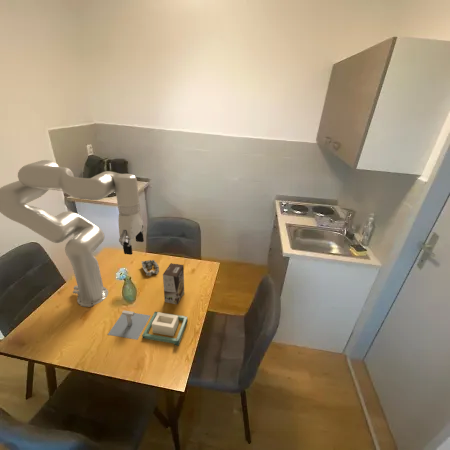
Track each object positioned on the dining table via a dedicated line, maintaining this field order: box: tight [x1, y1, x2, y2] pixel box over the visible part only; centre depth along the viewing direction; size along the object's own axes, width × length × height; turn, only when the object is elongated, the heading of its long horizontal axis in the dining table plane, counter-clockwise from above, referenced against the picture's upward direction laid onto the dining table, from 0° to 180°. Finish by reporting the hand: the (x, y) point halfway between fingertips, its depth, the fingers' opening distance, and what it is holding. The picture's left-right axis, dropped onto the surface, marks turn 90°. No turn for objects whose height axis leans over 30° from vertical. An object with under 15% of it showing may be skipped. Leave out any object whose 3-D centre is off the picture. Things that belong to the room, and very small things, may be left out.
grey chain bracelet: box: [141, 259, 160, 277], centre depth 133 cm, size 11×8×4 cm
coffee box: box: [162, 262, 185, 305], centre depth 112 cm, size 9×6×16 cm
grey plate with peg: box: [107, 310, 152, 341], centre depth 98 cm, size 12×12×8 cm
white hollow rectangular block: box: [151, 311, 180, 337], centre depth 98 cm, size 8×6×5 cm
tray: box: [141, 311, 188, 347], centre depth 99 cm, size 14×12×2 cm
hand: (134, 247), depth 100 cm, fingers open, 9 cm apart
